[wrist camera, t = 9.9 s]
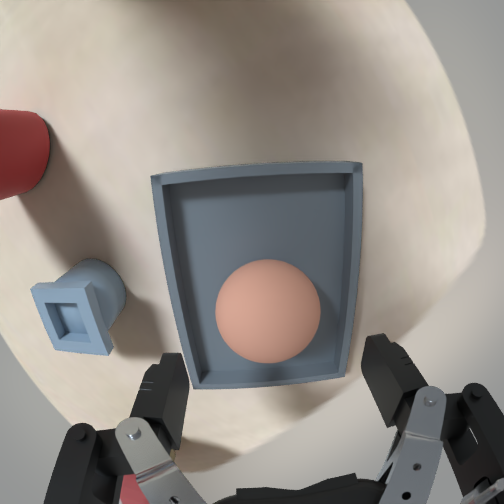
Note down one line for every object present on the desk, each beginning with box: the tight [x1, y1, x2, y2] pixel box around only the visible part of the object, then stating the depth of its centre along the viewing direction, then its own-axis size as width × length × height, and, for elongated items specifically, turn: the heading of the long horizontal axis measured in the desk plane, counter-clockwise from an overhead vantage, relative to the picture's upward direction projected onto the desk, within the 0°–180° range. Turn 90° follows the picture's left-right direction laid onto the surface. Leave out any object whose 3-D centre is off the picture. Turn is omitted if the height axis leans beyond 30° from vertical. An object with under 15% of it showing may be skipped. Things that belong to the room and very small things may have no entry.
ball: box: [215, 259, 321, 363], centre depth 16 cm, size 6×6×6 cm
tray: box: [151, 161, 363, 389], centre depth 19 cm, size 16×12×2 cm
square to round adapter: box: [30, 259, 126, 356], centre depth 17 cm, size 5×5×5 cm
